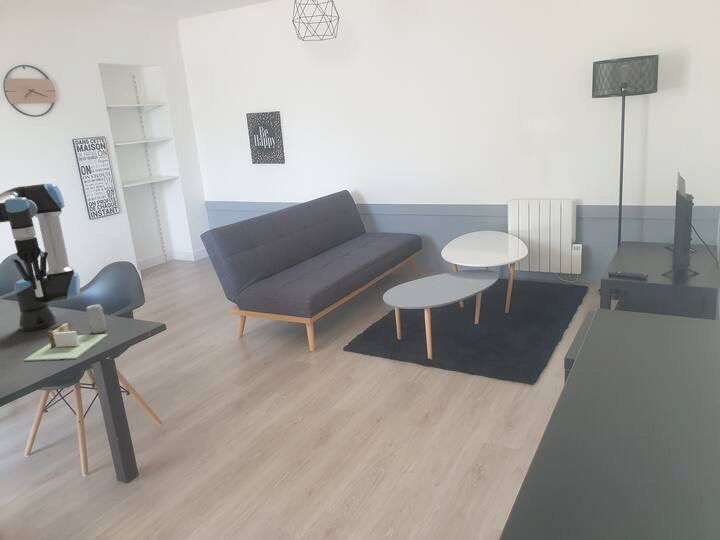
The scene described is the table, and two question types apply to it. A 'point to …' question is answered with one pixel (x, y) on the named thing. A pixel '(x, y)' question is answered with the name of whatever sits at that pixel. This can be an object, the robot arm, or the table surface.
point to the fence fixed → (61, 329)
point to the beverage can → (96, 319)
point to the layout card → (67, 349)
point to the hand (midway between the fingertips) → (39, 296)
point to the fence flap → (66, 338)
